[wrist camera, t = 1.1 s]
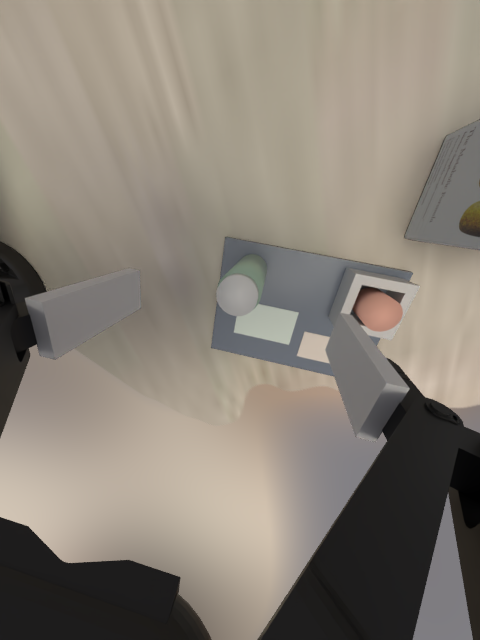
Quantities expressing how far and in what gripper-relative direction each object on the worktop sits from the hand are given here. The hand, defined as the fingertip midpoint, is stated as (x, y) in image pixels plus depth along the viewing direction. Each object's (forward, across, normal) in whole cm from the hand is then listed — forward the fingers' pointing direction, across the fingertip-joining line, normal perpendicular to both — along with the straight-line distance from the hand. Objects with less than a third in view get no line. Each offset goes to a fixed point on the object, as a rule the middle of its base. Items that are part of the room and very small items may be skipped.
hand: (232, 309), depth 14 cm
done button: (+13, +14, -1) cm, 19 cm away
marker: (+15, 0, 0) cm, 15 cm away
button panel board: (+15, +7, -5) cm, 17 cm away
